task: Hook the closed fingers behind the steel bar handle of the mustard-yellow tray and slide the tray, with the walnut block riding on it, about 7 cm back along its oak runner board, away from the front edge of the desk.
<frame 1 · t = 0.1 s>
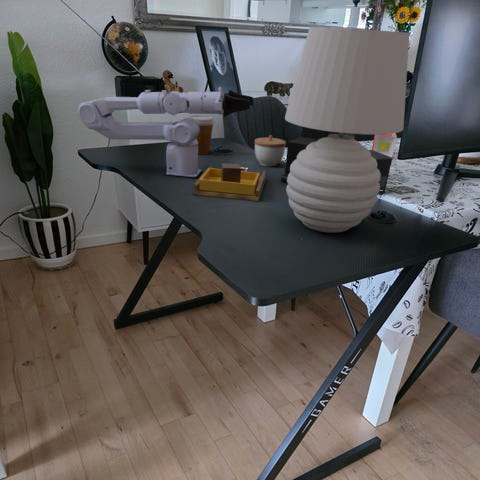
hand: (251, 102, 127), 22 cm above the table, tool horizontal, fingers open, 7 cm apart
runner board: (232, 186, 132), on the table
bookend: (310, 177, 146), on the table
disposable coffee cup: (200, 153, 166), on the table
table lamp: (325, 225, 110), on the table
trinket box: (268, 164, 157), on the table
tray: (231, 178, 129), point 3 cm above the table, slide at 0.0 cm, touching block
block: (230, 183, 127), point 2 cm above the table, touching tray
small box: (366, 189, 138), on the table
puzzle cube: (381, 155, 180), on the table
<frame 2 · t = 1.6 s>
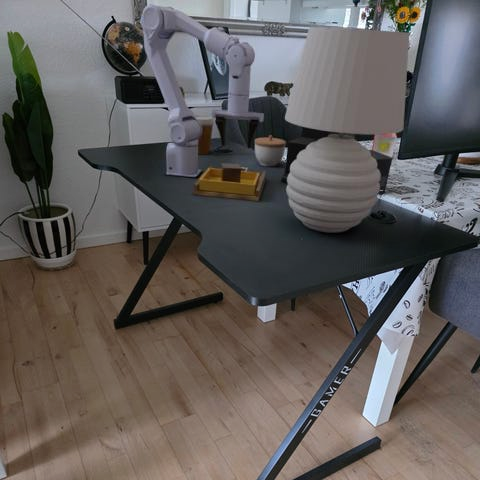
hand: (236, 146, 130), 10 cm above the table, tool pointing down, fingers open, 7 cm apart
nothing on the table moved.
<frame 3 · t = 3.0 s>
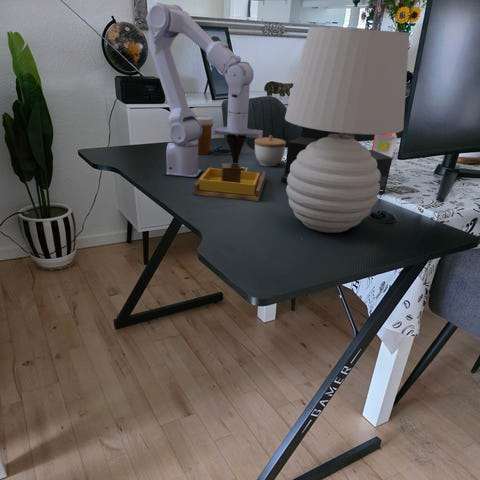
hand: (235, 162, 132), 6 cm above the table, tool pointing down, fingers closed
nothing on the table moved.
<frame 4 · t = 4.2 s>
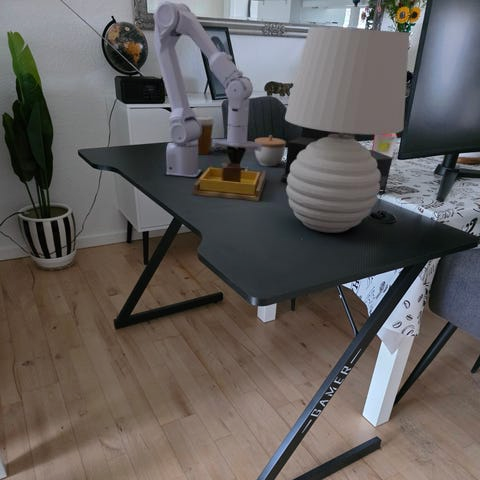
hand: (235, 173, 135), 2 cm above the table, tool pointing down, fingers closed, pressing on tray
tray: (232, 178, 130), point 3 cm above the table, slide at 0.4 cm, touching block, gripper
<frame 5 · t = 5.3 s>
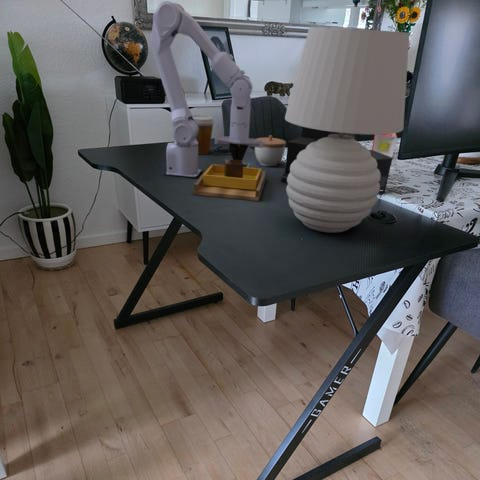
hand: (237, 170, 139), 2 cm above the table, tool pointing down, fingers closed, pressing on tray
tray: (234, 174, 133), point 3 cm above the table, slide at 4.8 cm, touching block, gripper
block: (232, 179, 132), point 2 cm above the table, touching tray
everything else where it was.
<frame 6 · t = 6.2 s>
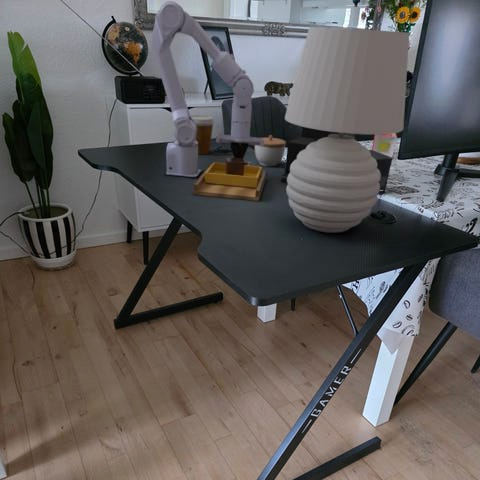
hand: (238, 168, 141), 2 cm above the table, tool pointing down, fingers closed, pressing on tray
tray: (235, 172, 135), point 3 cm above the table, slide at 7.2 cm, touching block, gripper
block: (234, 177, 134), point 2 cm above the table, touching tray
everything else where it was.
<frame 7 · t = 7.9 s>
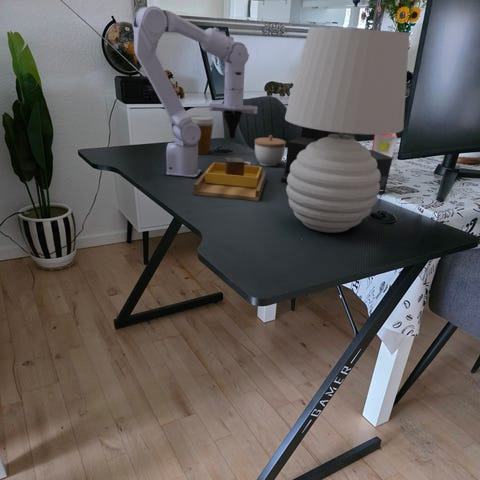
hand: (232, 137, 141), 10 cm above the table, tool pointing down, fingers closed
tray: (235, 172, 135), point 3 cm above the table, slide at 7.2 cm, touching block
everything else where it was.
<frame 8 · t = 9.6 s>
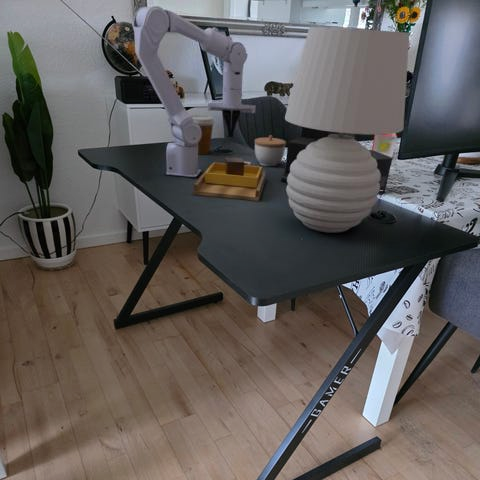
hand: (230, 136, 142), 10 cm above the table, tool pointing down, fingers closed
nothing on the table moved.
at the end: tray slide at 7.2 cm; block inside the target area (0.7 cm from its centre), point 1.9 cm above the table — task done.
